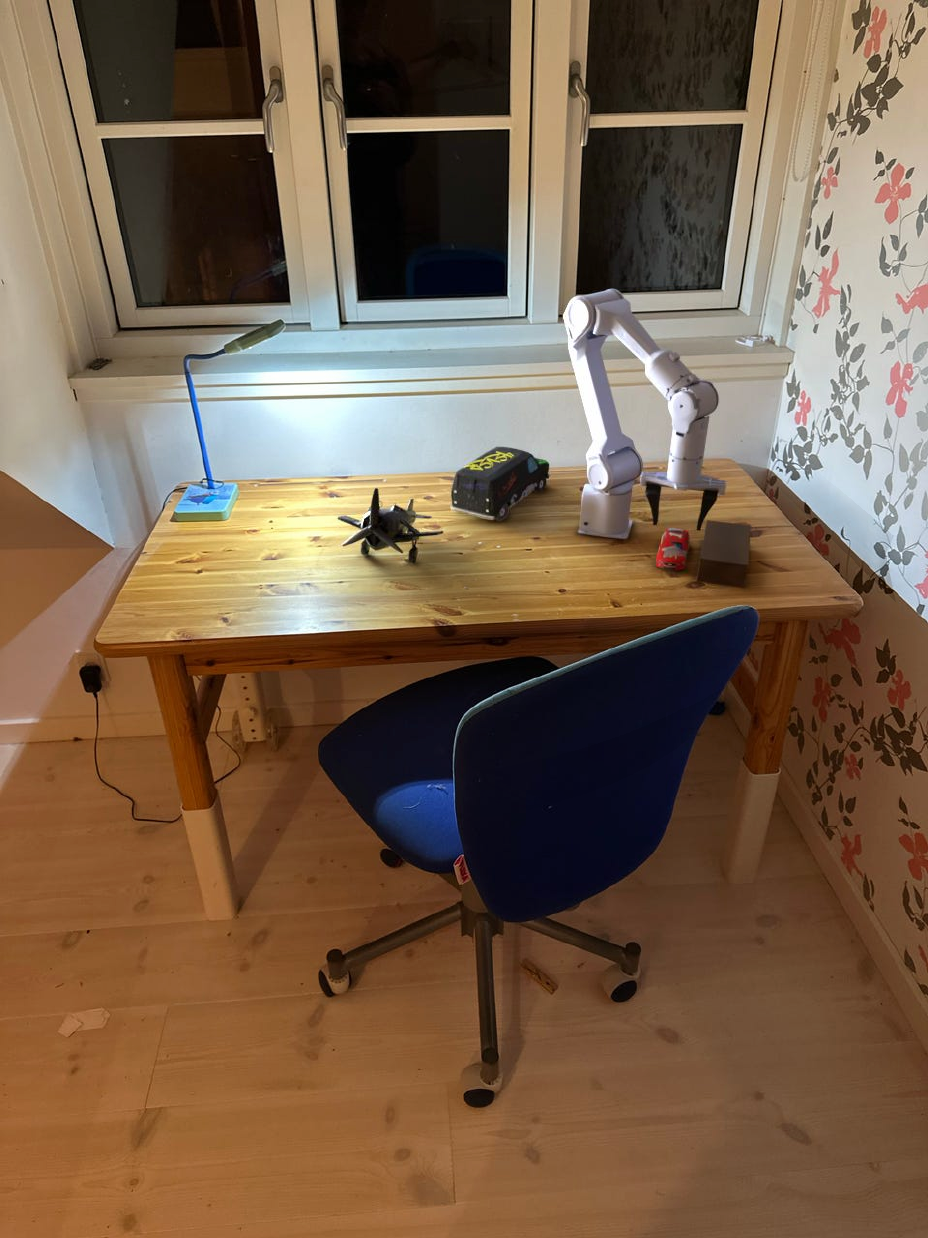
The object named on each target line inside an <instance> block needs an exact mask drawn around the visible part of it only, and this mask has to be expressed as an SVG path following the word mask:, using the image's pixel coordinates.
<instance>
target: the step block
mask: <svg viewBox="0 0 928 1238" xmlns="http://www.w3.org/2000/svg"><path fill="white" fill-rule="evenodd" d="M751 531H752V525H750V524H742V523H734V522H727V521H726V522H725V521H717V520H711V519H710V520H709V519H707V520H706V523H705V527H704V535H703V540H702V545H701V551H700V556H699V561H698V568H697V574H696V582H700V583H707V584H716V585H723V586H730V587H736V588H744V587H745V584H746V578H747V573H748V569H749V568H748V567H749V558H750V546H751V534H752V532H751Z"/></svg>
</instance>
